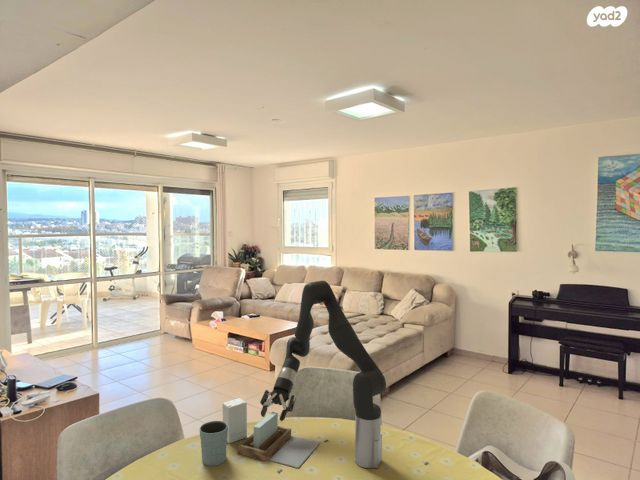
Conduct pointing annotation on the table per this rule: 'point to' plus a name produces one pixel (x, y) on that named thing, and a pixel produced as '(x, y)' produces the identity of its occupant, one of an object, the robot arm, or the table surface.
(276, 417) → the cover plate
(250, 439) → the walnut box
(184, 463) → the table surface
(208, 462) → the grey-green cup
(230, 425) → the skincare box
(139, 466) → the table surface
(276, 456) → the grey mat
